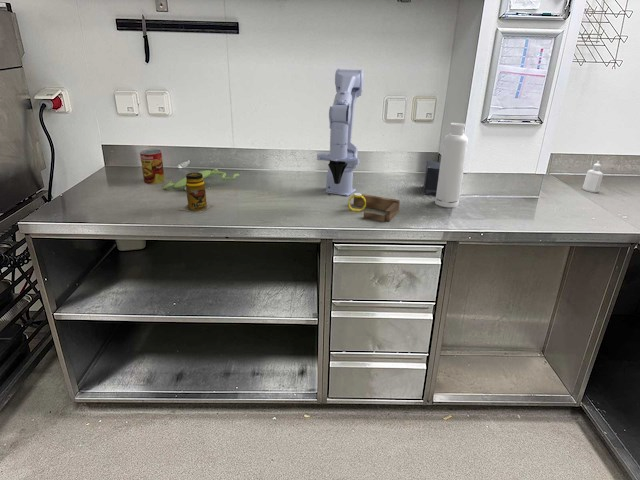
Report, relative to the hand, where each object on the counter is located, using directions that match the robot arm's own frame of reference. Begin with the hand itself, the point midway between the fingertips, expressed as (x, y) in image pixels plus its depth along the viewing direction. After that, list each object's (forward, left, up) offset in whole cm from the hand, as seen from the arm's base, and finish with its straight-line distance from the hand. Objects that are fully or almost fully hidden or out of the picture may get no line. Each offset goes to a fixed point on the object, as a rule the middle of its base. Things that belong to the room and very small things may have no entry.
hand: (337, 183), depth 149 cm
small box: (+25, +34, -9) cm, 43 cm away
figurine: (-55, -3, -9) cm, 56 cm away
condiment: (-42, -24, -9) cm, 49 cm away
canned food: (-76, -8, -9) cm, 76 cm away
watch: (+7, 0, -9) cm, 11 cm away
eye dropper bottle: (+81, +65, -9) cm, 105 cm away
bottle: (+33, +22, -9) cm, 41 cm away
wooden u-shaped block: (+12, 0, -9) cm, 15 cm away
